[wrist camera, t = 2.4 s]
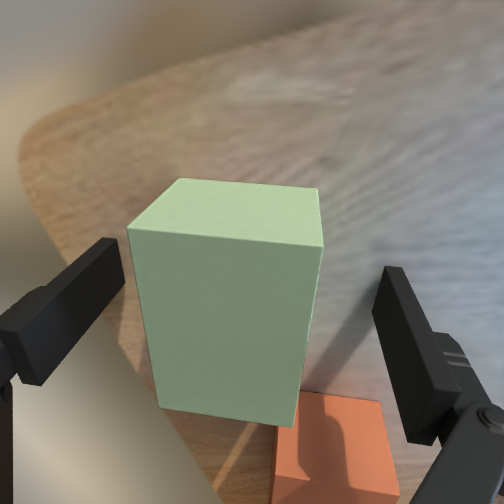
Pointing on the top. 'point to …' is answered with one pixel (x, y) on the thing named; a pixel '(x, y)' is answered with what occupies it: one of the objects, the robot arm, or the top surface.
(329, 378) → the top surface
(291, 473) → the terracotta rectangular block
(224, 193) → the pale green rectangular block
